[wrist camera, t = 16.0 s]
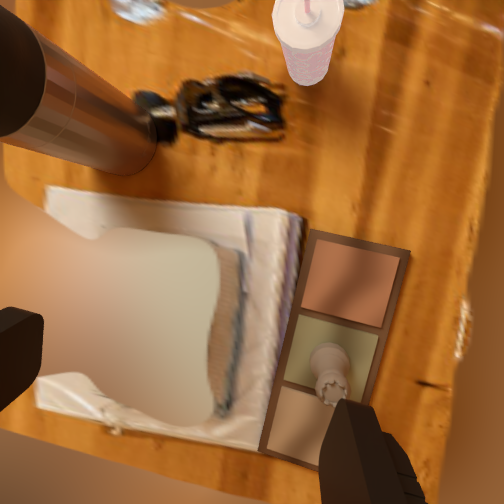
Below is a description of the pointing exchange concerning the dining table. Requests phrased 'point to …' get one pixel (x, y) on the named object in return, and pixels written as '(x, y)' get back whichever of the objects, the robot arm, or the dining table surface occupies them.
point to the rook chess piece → (330, 373)
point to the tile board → (331, 337)
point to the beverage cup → (307, 35)
